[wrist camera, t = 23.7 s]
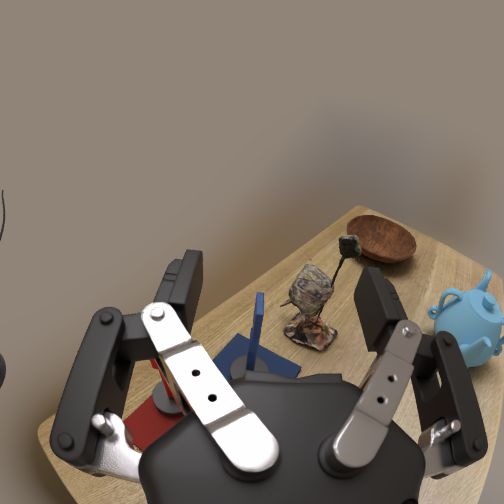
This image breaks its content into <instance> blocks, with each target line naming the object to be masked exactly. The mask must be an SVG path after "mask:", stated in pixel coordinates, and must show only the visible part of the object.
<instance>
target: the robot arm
mask: <svg viewBox="0 0 504 504" xmlns="http://www.w3.org/2000/svg"><path fill="white" fill-rule="evenodd" d="M2 202H3V212H4V214H3V225H2V229H1V234H0V240H1V237H2V233H3V229H4V223H5V206H4V199H3V190H2ZM202 255H203V254H202V251H196V250H186V252H185V255H184V257H183V260H181V259H175V260H174V261H172V262H171V263H170V264H169V265H168V267H167V269H166V272H165V274H164V277H163V279H162V281H161V284H160V286H159V289H158V291H157V293H156V296H155V299H154V301H153V303H151V304H149V305H147V306H146V307H145V308H144V309H143V311H142V312H141V313H137V314H130V315H129V314H128V315H122V313H121V312H120V310H118V309H117V308H114V307H105V308H102V309H100V310H98V311H97V312H96V313H95V314H94V316H93V317H92V320H91V322H90V324H89V326H88V329H87V331H86V334H85V336H84V338H83V341H82V343H81V346H80V348H79V350H78V353H77V356H76V358H75V361H74V363H73V366H72V369H71V371H70V374H69V377H68V380H67V383H66V385H65V388H64V391H63V394H62V397H61V401H60V403H59V407H58V410H57V413H56V416H55V420H54V423H53V427H52V430H51V434H50V441H49V442H50V447H51V449H52V451H53V453H54V454H55V455H56V456H57V457H59V458H60V459H62V460H64V461H65V462H67V463H68V464H69V465H71V466H73V467H75V468H77V469H79V470H81V471H83V472H85V473H88V474H91V475H93V476H96V477H104V476H106V475H107V476H111V477H115V478H118V479H122V480H126V481H131V482H135V483H140V484H141V485H142V487H143V490H144V492H145V495H146V499H147V503H148V504H418V497H419V491H420V486H421V483H422V480H423V478H427V477H431V478H433V479H441V478H443V477H446V476H448V475H450V474H452V473H454V472H456V471H459V470H461V469H463V468H465V467H467V466H469V465H471V464H473V463H474V462H476V461H478V460H480V459H482V458H483V457H484V456H485V454H486V452H487V449H488V441H487V436H486V432H485V427H484V423H483V419H482V415H481V412H480V408H479V404H478V401H477V397H476V394H475V391H474V387H473V384H472V381H471V378H470V375H469V372H468V369H467V366H466V364H465V361H464V358H463V355H462V353H461V350H460V348H459V345H458V342H457V340H456V338H455V337H454V336H453V335H452V334H451V333H449V332H447V331H439V332H438V333H437V334H436V335H435V337H433V336H429V335H426V334H422V332H421V329H420V328H419V326H418V325H417V324H415V323H414V322H412V321H410V320H408V318H407V316H406V313H405V311H404V308H403V306H402V304H401V301H400V300H399V297H398V295H397V292H396V290H395V288H394V286H393V284H392V283H391V282H390V281H389V280H388V279H387V278H384V277H383V274H382V272H381V270H380V269H379V268H373V267H365V268H364V269H363V271H362V274H361V276H360V279H359V281H358V284H357V286H356V288H355V292H354V302H355V305H356V309H357V312H358V316H359V319H360V323H361V326H362V330H363V334H364V337H365V341H366V345H367V349H368V352H377V356H376V358H375V359H374V361H373V363H372V364H371V366H370V368H369V370H368V372H367V373H366V375H365V377H364V378H363V380H362V382H361V383H360V385H359V387H357V386H355V385H354V384H352V383H349V382H346V381H343V380H342V374H315V375H311V376H306V377H301V378H290V377H286V376H283V375H279V374H275V373H272V372H263V371H249V370H245V374H244V377H240V378H235V379H232V380H229V381H226V380H225V378H224V377H223V376H222V374H221V373H220V371H219V370H218V369H217V367H216V366H215V364H214V363H213V361H212V360H211V359H210V357H209V356H208V354H207V353H206V351H205V350H204V348H203V347H202V345H201V344H200V343H199V342H198V341H197V340H195V341H193V340H192V338H191V337H190V334H191V330H192V326H193V321H194V317H195V313H196V309H197V305H198V301H199V297H200V293H201V289H202V284H203V256H202ZM150 359H154V360H155V362H156V364H157V366H158V367H159V369H160V371H161V373H162V375H163V377H164V379H165V381H166V382H167V384H168V386H169V388H170V390H171V392H172V394H173V396H174V398H175V400H176V402H177V404H178V406H179V407H180V409H181V411H182V413H183V414H184V417H183V418H182V419H181V420H179V421H178V422H177V423H176V424H175V425H173V426H172V427H171V428H170V429H169V430H167V431H166V432H165V433H164V434H162V435H161V436H160V437H159V438H157V439H156V440H155V441H154V442H152V443H151V444H150V445H149V446H148V447H147V448H146V449H145V450H144V452H143V453H142V454H141V453H138V452H136V451H135V450H134V447H133V438H132V433H131V431H130V430H129V428H128V427H127V426H126V425H125V424H124V423H123V421H122V415H123V410H124V406H125V401H126V397H127V393H128V388H129V384H130V380H131V376H132V372H133V368H134V365H135V361H141V360H150ZM438 371H439V375H440V378H441V382H442V385H441V389H440V385H439V381H438V378H437V374H436V373H437V372H438ZM410 377H411V381H412V385H413V390H414V394H415V399H416V404H417V409H418V414H419V419H420V425H421V431H422V433H421V435H420V437H419V440H418V444H417V443H416V442H415V441H414V440H413V439H412V438H411V437H410V436H408V435H407V434H406V433H405V432H404V431H403V430H402V429H401V428H400V427H399V426H398V425H397V424H396V423H395V422H394V421H393V420H392V418H393V416H394V414H395V412H396V409H397V407H398V405H399V403H400V401H401V398H402V396H403V394H404V392H405V389H406V387H407V384H408V382H409V380H410Z"/></svg>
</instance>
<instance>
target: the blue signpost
mask: <svg viewBox="0 0 504 504" xmlns="http://www.w3.org/2000/svg"><path fill="white" fill-rule="evenodd" d="M263 315H264V293H261V292H257V295H256V303H255V310H254V317H253V327H252V328H251V333H250V340H249V347H248V355H247V356H242V357H239V358H237V359H236V360H235V361H234V362H233V363H232V365H231V367H230V380H232V379H235V378H240V377H244V374H245V370H249V371H263V372H269V370H268V367H267V365H266V364H265V362H264V361H263V360H261V359H260V358H258V357H256V356H257V350H258V345H259V339H260V334H261V327H262V321H263Z"/></svg>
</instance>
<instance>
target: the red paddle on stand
mask: <svg viewBox="0 0 504 504" xmlns="http://www.w3.org/2000/svg"><path fill="white" fill-rule="evenodd" d="M150 361H151V364H152V367H153V368H154V369H159V367H158V366H157V364H156V362H155V360H154V359H150ZM159 372H160V375H161V378H162V381H161V382H160V383H158V384H157V385H156V387H155V388H154V390H153V394H152V397H153V402H154V404H155V406H156V408H157V409H158V410H159V412H161V413H162V414H163V415H165V416H168V417H180V416H183V415H184V414H183V413H182V411H181V409H180V407H179V406H178V404H177V402H176V400H175V398H174V396H173V394H172V392H171V390H170V388H169V386H168V384H167V382H166V381H165V379H164V377H163V375H162V373H161V371H160V369H159Z"/></svg>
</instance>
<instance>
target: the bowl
mask: <svg viewBox="0 0 504 504" xmlns="http://www.w3.org/2000/svg"><path fill="white" fill-rule="evenodd" d="M347 234H348V235H356V236H357V237H358V239H359V241H360V246H361V250H362V251H361V253H363V254H364V255H365V256H367V257H369V258H371V259H374V260H377V261H381V262H385V263H397V262H400V261H403V260H406V259H409V258H410V257H411V256H412V255H413V254H414V253H415V250H416V247H417V246H416V242H415V238H414V237H413V236H412V235H411V234H410V232H408V231H407V230H406V229H404V228H403V227H401V226H400V225H398V224H396V223H394V222H392V221H390V220H387V219H385V218H382V217H378V216H374V215H362V216H357V217H355V218H354V219H352V220H351V221H350V222H349V223H348V224H347Z"/></svg>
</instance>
